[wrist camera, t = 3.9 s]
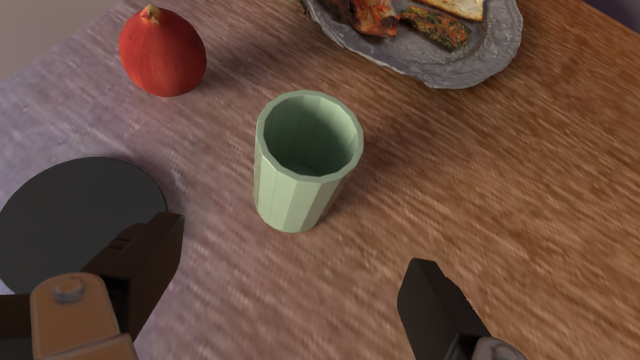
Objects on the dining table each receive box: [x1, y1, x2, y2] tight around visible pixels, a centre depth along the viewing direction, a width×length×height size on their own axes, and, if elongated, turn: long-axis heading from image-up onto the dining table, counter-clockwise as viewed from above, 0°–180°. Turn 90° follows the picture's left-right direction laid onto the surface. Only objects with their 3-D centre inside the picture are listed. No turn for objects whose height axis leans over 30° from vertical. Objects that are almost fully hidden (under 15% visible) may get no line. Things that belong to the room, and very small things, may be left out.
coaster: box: [0, 157, 168, 294], centre depth 22 cm, size 10×10×1 cm
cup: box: [254, 90, 364, 233], centre depth 22 cm, size 6×6×9 cm
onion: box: [119, 4, 207, 97], centre depth 25 cm, size 6×6×8 cm
